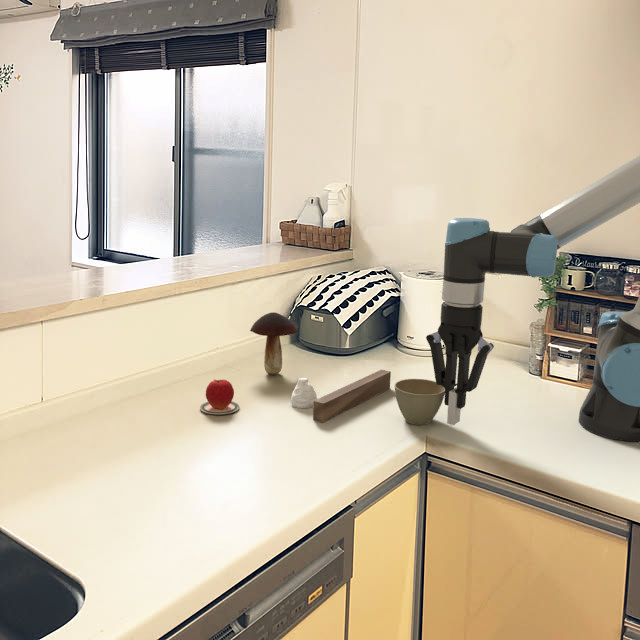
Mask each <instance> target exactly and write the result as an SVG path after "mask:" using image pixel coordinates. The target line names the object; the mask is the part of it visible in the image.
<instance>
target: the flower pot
mask: <svg viewBox="0 0 640 640" xmlns="http://www.w3.org/2000/svg"><path fill="white" fill-rule="evenodd" d="M394 394H395V399H396V402H397V406H398V409H399V411H400V413H401V415H402V417H403V419H404V420H405V421H406V422H407V423H409V424H411V425H417V426H420V425H421V426H423V425H425V426H426V425H428V424H430V423H431V422H432V420H433V419H434V418H435V417H436V415H437V414H438V411H439V410H440V408H441V406H442V405H443V404H442V403H443V400H444V399H445V388H444V387H443V386H441V385H437V383H436V380H431V379H425V378H407V379H401V380H398V381H396V382H395V383H394Z"/></svg>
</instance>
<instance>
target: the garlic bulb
mask: <svg viewBox="0 0 640 640" xmlns="http://www.w3.org/2000/svg"><path fill="white" fill-rule="evenodd" d="M317 396H318V395H317V392H316V390H315V389H314V386H313V385H312V384H311V383H309V379H308V378H306V377H301V378H298V380H297V383H296V385H295V387H294V390H292V393H291V398H290V403H291V405H292V406H293V407H294V408H297V409H302V410H303V409H311V408H313V403H314V400H317V399H318V397H317Z"/></svg>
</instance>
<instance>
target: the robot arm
mask: <svg viewBox="0 0 640 640" xmlns="http://www.w3.org/2000/svg"><path fill="white" fill-rule="evenodd" d="M639 204H640V154H639V155H637V156H635V157H634V158H632V159H631V160H629V161H627V162H625V163H624V164H622V165H621V166H619V167H617V168H615V169H614V170H612V171H610V172H609V173H607V174H605V175H603V176H602V177H601V178H599V179H597V180H595V181H593V182H592V183H590V184H588V185H587V186H585V187H584V188H582V189H580V190H579V191H577V192H575V193H574V194H572V195H570V196H568V197H567V198H565V199H564V200H561V201H560V202H559V203H557V204H555V205H554V206H552V207H550V208H549V209H547V210H545V211H544V212H542V213H540V214H539V215H538V216H536V217H533V218H532V219H530V220H529V221H527V222H525V223H524V224H523V223H522V224H520V225H517V226H516V227H514V228H513V229H512V230H511V231H509V232H504V231H494V230H491V227H490V222H489V220H487V219H484V218H474V217H456V218H453V219H451V220H450V221H449V222H448V223H447V229H446V235H445V237H446V238H445V242H444V259H443V262H444V263H443V277H442V278H443V280H442V291H441V300H442V301H443V302H442V303H441V305H440V306H441V309H440V319H439V320H440V324H439V326H438V328H437V331H435V332H432V333H429V334H427V335H426V336H425V339H426V341H427V343H428V345H429V347H430V354H431V360H432V365H433V372H434V378H435V382H436V383H437V385H441V386H443V387H444V388H445V395H444V399H443V400H444V405H445V406H447V418H446V419H447V421H446V423H447V424H448V425H451V426H455V425H457V423H459V422H460V421H461V410H462V409H463V408H465V406H466V401H467V392H468V393H470V392H472V391H474V390H475V389H477V387H478V385H479V381H480V378H481V375H482V373H483V369H484V367H485V364H486V360H487V359H488V358H487V357H488V356H489V354H490V352H492V350H493V349H494V346H495V345H494V344H493V343H492V342H488V341H487V340H485V338H483V332H482V320H483V309H484V308H483V306H482V303H483V302H484V294H485V292H484V291H485V280H486V274H488V273H489V274H499V275H511V276H512V275H513V276H523V277H526V276H527V277H531V278H537V277H540V278H541V277H542V278H550V277H552V276H553V275H554V274H555V272H556V264H557V263H556V262H557V255H558V254H557V253H558V250H559V249H561V248H562V247H564V246H567V245H568V244H569V243H571V242H573V241H574V240H576V239H579V238H581V237H582V236H583V235H586V234H587V233H589V232H591V231H592V230H595V229H596V228H598V227H600V226H601V225H604V224H605V223H607V222H609V221H610V220H612V219H614V218H616V217H617V216H620V214H623V213H624V212H626V211H628V210H630V209H631V208H633V207H635V206H636V205H639ZM597 328H598V334H597V342H596V353H595V358H594V359H595V360H594V367H593V377H592V385H591V387H590V388H589V391H588V393H587V394H586V397H585V399H584V400H583V402H582V404H581V407H580V410H579V414H578V415H579V416H578V423H579V425H580V426H581V427H583V428H584V429H586V430H588V432H591V433H594V434H595V435H598V436H601V437H605V438H608V439H613V440H617V439H618V441H623V442H625V441H626V442H640V296H639V297H638V298H637V302H636V304H635V306H634V307H633V309H632V310H629V311H616V310H615V311H612V310H611V311H610V310H609V311H606V312H604V313H602V314H601V315H600V319H599V323H598V325H597ZM442 342H443V343H442ZM442 344H444V346H445V358H446V359H445V358H444V351H443V346H442ZM477 345H478V347H477V351H478V352H477V354H476V357H475V359H474V362H473V365H472V368H471V370H470V366H471V365H470V361H471V355H472V350H473V349H475V347H476V346H477ZM457 365H458V366H457Z"/></svg>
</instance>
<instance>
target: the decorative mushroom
mask: <svg viewBox="0 0 640 640" xmlns="http://www.w3.org/2000/svg"><path fill="white" fill-rule="evenodd" d="M249 332H252V333H254V334H256V335H258V336H259V335H260V336H264V337H265V336H266V341H265V348H264V356H263V357H264V359H263V360H264V364H263V365H264V371H265V372H266V373H267V374H268V375H272V376H275V375H278V374H279V373H280V372H281V371H282V368H283V350H282V344H281V339H280V338H281V337H285V336H289V335H294V334H296V333H297V332H298V329H297V327H296V325H295V323H294V322H293V321H292V320H291V319H289V318H288V317H286V316H285V315H282V314H280V313H278V312H268V313H266V314H263V315H262V316H260V318H258V319H256V321H255V322H254V323H253V325H252V326H251V328H250V330H249Z"/></svg>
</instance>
